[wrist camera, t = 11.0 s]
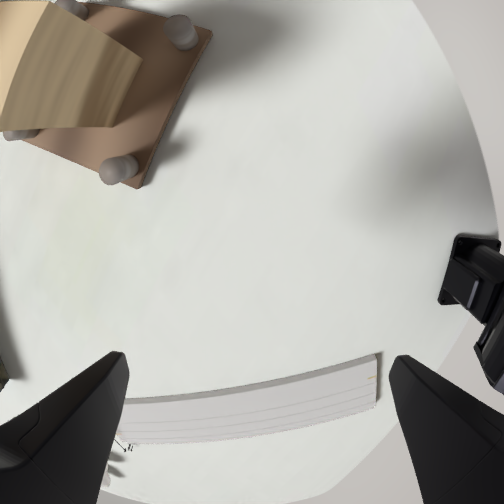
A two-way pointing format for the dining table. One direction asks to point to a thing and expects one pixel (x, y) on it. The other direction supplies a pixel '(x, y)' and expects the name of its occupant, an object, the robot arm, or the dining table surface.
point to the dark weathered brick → (3, 376)
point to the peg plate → (129, 93)
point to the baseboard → (252, 407)
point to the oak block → (59, 69)
